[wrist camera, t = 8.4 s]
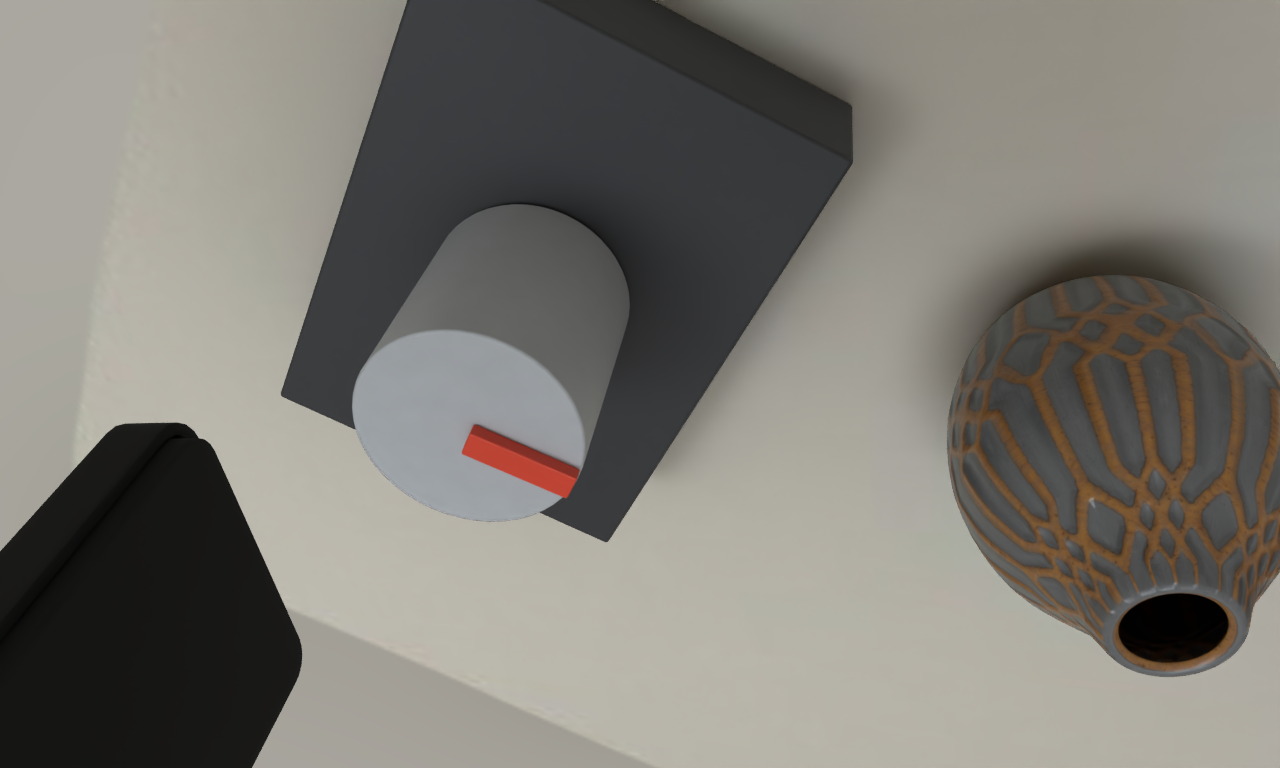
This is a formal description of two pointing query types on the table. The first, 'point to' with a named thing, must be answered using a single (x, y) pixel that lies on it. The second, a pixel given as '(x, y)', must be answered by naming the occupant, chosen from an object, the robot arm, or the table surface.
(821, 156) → the dial panel
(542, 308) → the dial
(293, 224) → the table surface
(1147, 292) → the vase
